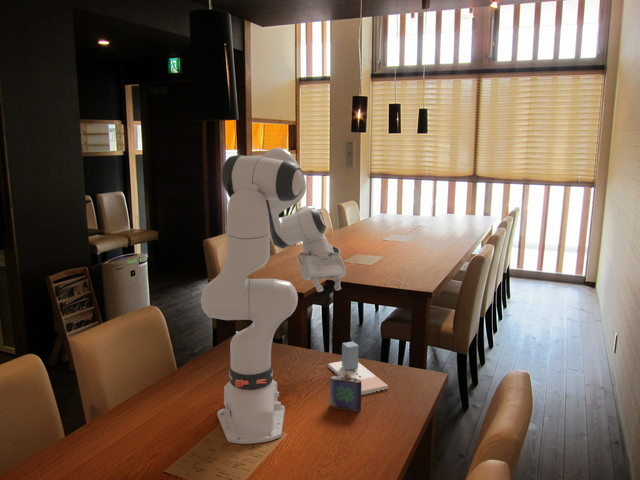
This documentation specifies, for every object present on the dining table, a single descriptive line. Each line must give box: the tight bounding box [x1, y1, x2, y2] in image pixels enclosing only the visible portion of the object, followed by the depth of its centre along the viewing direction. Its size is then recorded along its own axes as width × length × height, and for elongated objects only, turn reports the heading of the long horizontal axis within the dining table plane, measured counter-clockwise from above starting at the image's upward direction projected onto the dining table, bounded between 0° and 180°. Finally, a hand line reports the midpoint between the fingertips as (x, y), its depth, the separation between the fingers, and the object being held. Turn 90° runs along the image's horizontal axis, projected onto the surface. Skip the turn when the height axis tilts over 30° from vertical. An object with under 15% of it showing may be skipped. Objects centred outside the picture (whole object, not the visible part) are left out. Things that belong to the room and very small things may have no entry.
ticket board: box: [327, 360, 389, 396], centre depth 173 cm, size 22×10×1 cm, turn 25°
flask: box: [329, 372, 362, 412], centre depth 154 cm, size 9×3×11 cm, turn 73°
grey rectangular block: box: [341, 341, 360, 370], centre depth 177 cm, size 4×4×8 cm
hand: (329, 290), depth 179 cm, fingers open, 8 cm apart
